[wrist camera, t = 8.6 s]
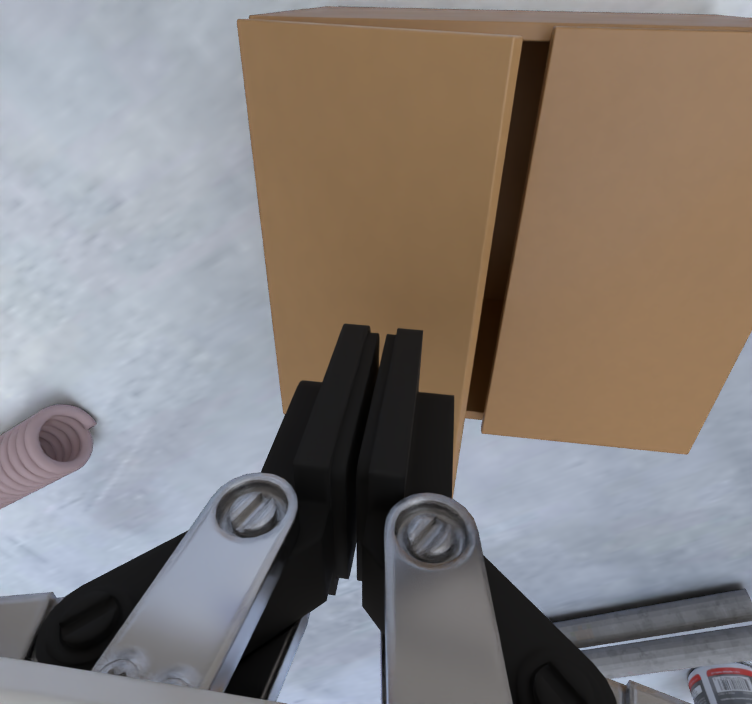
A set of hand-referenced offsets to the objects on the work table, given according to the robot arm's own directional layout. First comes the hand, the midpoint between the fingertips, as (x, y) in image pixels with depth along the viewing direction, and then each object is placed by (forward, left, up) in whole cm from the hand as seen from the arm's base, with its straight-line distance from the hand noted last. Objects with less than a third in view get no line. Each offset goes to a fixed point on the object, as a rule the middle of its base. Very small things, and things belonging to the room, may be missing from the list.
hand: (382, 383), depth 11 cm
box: (+3, +1, -16) cm, 16 cm away
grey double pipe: (+31, -24, -16) cm, 42 cm away
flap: (-1, -1, -4) cm, 4 cm away
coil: (-14, -35, -16) cm, 41 cm away
